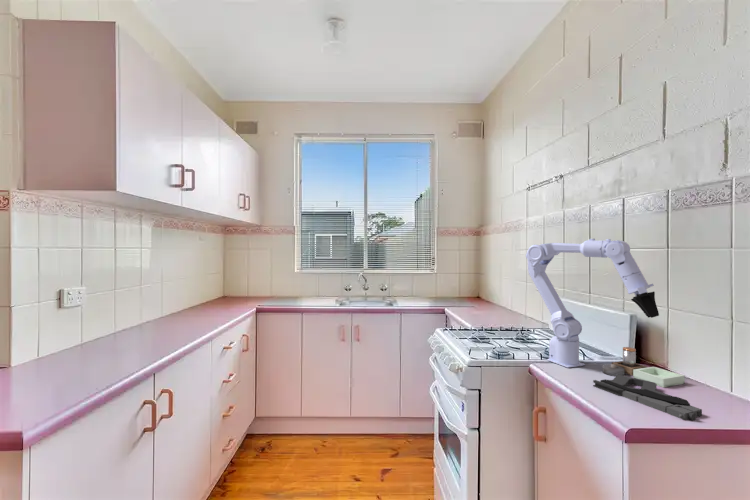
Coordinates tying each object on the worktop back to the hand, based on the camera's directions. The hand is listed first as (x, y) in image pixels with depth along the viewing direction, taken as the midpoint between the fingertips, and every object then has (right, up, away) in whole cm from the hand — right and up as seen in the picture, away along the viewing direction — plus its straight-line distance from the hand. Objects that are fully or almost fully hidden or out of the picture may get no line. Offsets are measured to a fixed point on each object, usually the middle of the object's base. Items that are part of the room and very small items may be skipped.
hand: (653, 316), depth 115 cm
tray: (+3, -20, +3) cm, 21 cm away
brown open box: (-3, -20, +11) cm, 23 cm away
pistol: (-8, -21, -10) cm, 25 cm away
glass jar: (0, -20, +12) cm, 23 cm away
